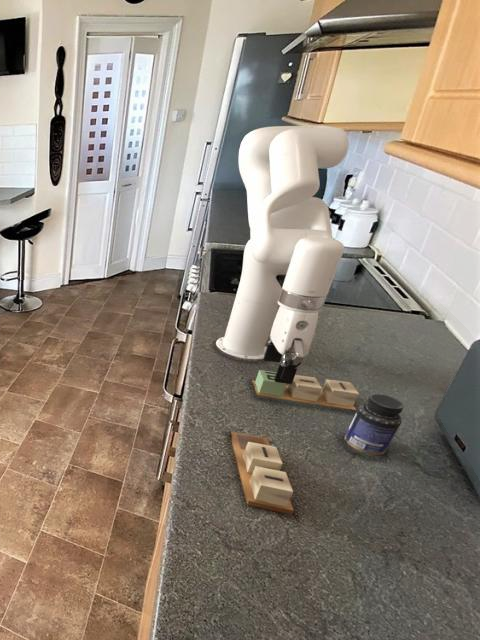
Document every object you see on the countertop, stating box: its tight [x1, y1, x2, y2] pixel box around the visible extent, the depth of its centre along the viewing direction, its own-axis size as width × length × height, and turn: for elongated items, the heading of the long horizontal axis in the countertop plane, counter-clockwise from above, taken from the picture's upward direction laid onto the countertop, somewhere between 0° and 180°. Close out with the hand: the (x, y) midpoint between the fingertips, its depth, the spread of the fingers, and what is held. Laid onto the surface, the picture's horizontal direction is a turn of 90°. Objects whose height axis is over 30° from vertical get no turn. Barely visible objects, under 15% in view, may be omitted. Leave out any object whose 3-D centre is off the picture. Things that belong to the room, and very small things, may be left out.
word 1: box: [229, 431, 295, 516], centre depth 78 cm, size 18×6×5 cm, turn 160°
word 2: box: [251, 374, 360, 411], centre depth 96 cm, size 6×18×5 cm, turn 70°
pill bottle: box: [344, 393, 405, 456], centre depth 80 cm, size 6×6×11 cm
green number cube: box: [255, 369, 288, 396], centre depth 98 cm, size 4×4×4 cm
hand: (276, 371), depth 96 cm, fingers open, 9 cm apart
